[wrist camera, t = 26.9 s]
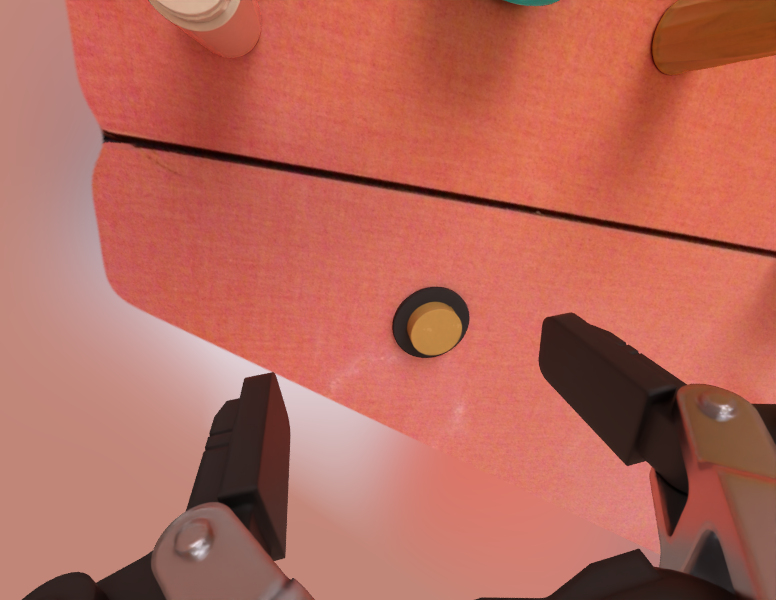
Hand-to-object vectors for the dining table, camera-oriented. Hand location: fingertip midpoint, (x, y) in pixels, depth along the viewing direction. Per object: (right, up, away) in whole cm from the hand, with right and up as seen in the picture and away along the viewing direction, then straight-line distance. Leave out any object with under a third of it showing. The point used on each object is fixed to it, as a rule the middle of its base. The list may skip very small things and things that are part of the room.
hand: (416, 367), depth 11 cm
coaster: (+4, -1, +31) cm, 32 cm away
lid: (+4, -1, +30) cm, 30 cm away
